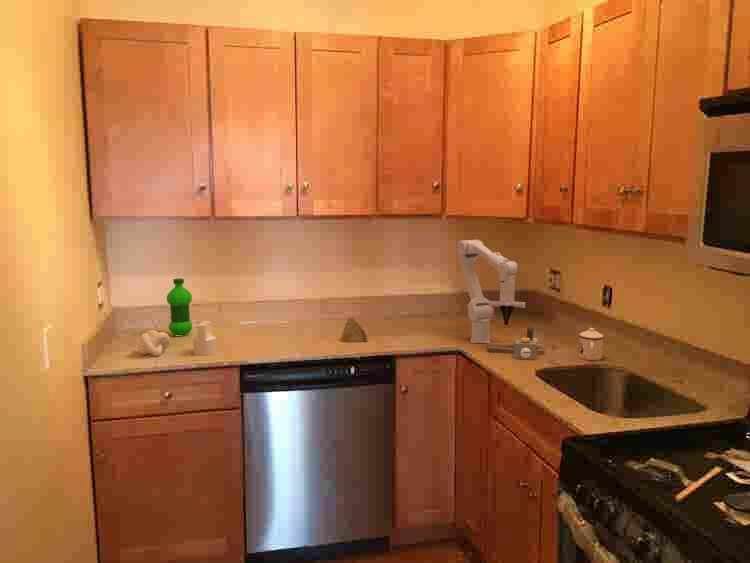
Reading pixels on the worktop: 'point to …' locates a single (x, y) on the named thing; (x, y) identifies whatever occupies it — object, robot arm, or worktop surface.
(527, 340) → the button
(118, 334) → the worktop surface
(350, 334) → the rock
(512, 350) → the board
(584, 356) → the teacup with lid
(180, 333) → the plastic bottle
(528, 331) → the carriage
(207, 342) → the cylinder with rectangular tab
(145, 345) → the beige knot
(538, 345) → the guide rail
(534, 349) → the gauge box
